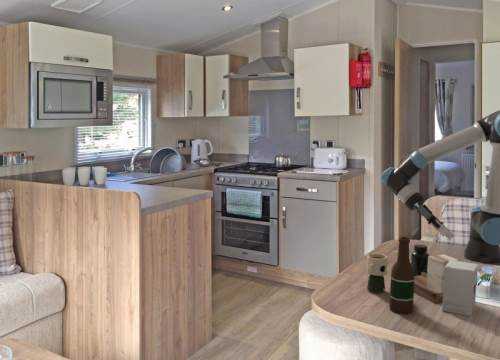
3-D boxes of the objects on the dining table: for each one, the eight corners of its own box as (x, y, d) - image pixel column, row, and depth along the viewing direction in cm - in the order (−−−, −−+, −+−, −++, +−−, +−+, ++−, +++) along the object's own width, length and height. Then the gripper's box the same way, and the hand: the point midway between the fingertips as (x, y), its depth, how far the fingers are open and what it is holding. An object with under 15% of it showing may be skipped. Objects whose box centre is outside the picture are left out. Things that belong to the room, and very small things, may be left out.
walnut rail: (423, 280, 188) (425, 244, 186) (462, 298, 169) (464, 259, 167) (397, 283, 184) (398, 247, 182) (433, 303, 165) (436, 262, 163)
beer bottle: (385, 305, 163) (388, 235, 160) (407, 304, 164) (411, 234, 161) (393, 314, 155) (397, 241, 152) (417, 314, 156) (421, 240, 153)
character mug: (379, 297, 170) (380, 261, 168) (360, 293, 174) (361, 257, 172) (391, 289, 178) (393, 254, 176) (372, 284, 183) (374, 250, 181)
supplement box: (471, 317, 154) (474, 271, 152) (441, 311, 159) (444, 266, 157) (475, 307, 162) (478, 263, 160) (446, 302, 166) (449, 259, 164)
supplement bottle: (429, 278, 189) (431, 248, 188) (411, 277, 191) (412, 247, 189) (426, 273, 196) (428, 244, 194) (409, 272, 197) (410, 243, 196)
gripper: (411, 208, 214) (447, 245, 204) (396, 199, 193) (435, 239, 183) (424, 196, 212) (461, 233, 202) (410, 185, 191) (451, 225, 181)
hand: (449, 236), depth 192 cm, fingers open, 13 cm apart
